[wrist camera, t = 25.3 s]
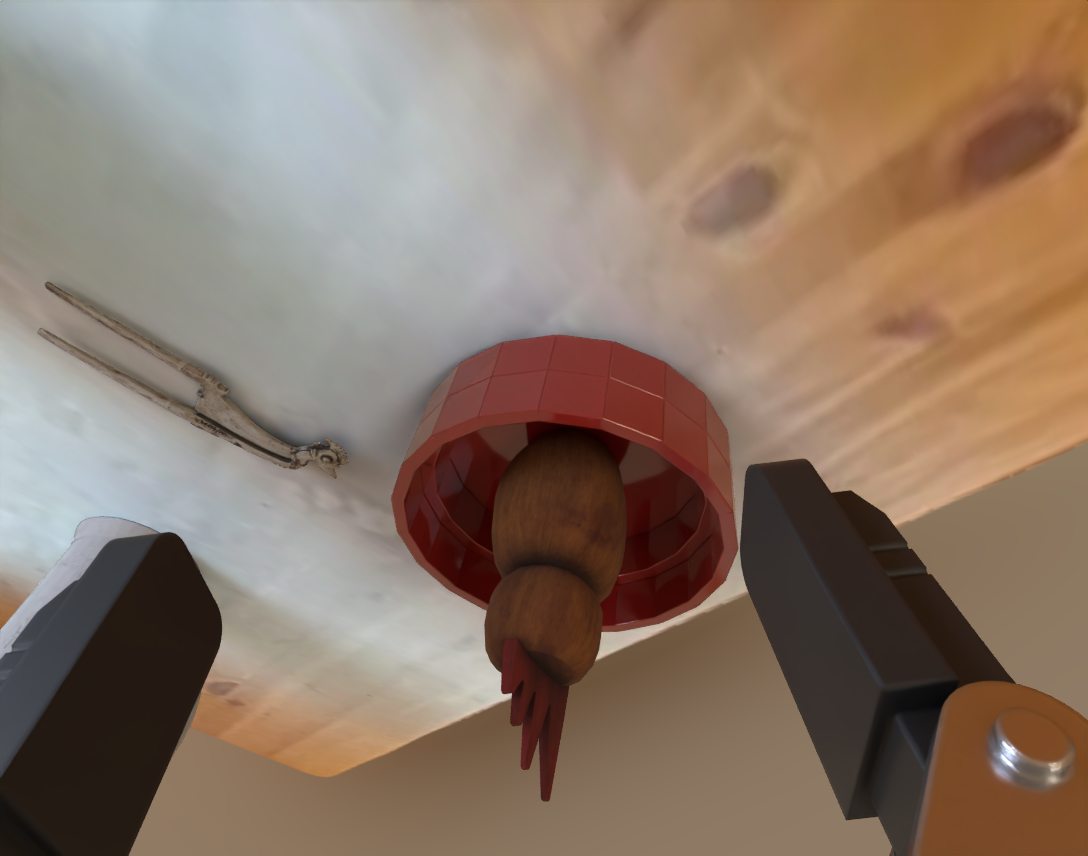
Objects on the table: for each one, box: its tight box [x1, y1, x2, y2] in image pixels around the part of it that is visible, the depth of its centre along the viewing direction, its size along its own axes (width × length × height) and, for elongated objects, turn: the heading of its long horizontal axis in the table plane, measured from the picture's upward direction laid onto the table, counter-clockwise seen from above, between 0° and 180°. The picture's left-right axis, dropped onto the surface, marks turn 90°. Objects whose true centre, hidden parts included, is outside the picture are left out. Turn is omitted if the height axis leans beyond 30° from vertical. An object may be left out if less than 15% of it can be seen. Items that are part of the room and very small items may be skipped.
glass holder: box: [0, 517, 201, 754], centre depth 41 cm, size 9×14×15 cm, turn 89°
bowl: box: [391, 335, 738, 632], centre depth 31 cm, size 15×15×6 cm
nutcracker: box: [38, 282, 349, 479], centre depth 34 cm, size 16×1×5 cm
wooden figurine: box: [484, 430, 626, 801], centre depth 27 cm, size 7×6×15 cm
